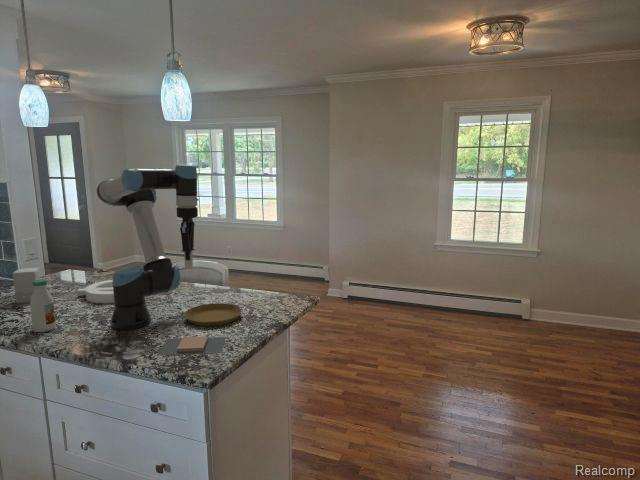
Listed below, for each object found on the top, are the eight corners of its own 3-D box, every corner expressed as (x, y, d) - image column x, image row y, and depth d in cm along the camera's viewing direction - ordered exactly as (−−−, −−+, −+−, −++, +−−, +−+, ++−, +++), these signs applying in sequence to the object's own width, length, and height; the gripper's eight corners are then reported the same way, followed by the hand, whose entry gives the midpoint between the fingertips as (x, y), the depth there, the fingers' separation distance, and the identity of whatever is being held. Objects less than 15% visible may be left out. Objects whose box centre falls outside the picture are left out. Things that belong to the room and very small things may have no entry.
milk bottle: (38, 334, 160) (33, 284, 156) (29, 330, 164) (23, 281, 160) (59, 328, 166) (55, 279, 163) (50, 324, 170) (45, 277, 167)
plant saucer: (198, 308, 192) (197, 301, 192) (248, 310, 190) (248, 304, 189) (174, 327, 169) (174, 320, 168) (231, 331, 166) (231, 323, 166)
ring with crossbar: (158, 292, 215) (158, 284, 215) (106, 307, 192) (105, 297, 191) (126, 284, 230) (125, 276, 229) (74, 297, 207) (73, 287, 206)
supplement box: (43, 296, 206) (40, 267, 203) (37, 301, 198) (34, 271, 195) (22, 297, 203) (19, 268, 201) (15, 303, 195) (11, 272, 192)
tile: (183, 340, 155) (177, 352, 145) (183, 337, 154) (176, 348, 145) (207, 339, 156) (203, 351, 146) (207, 336, 155) (203, 347, 146)
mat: (156, 356, 143) (156, 355, 142) (167, 339, 156) (167, 338, 156) (221, 354, 145) (221, 353, 145) (226, 338, 158) (226, 337, 158)
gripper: (193, 209, 148) (195, 272, 153) (200, 205, 161) (202, 263, 166) (172, 208, 148) (174, 272, 152) (181, 204, 160) (183, 263, 165)
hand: (188, 267), depth 159 cm, fingers closed
